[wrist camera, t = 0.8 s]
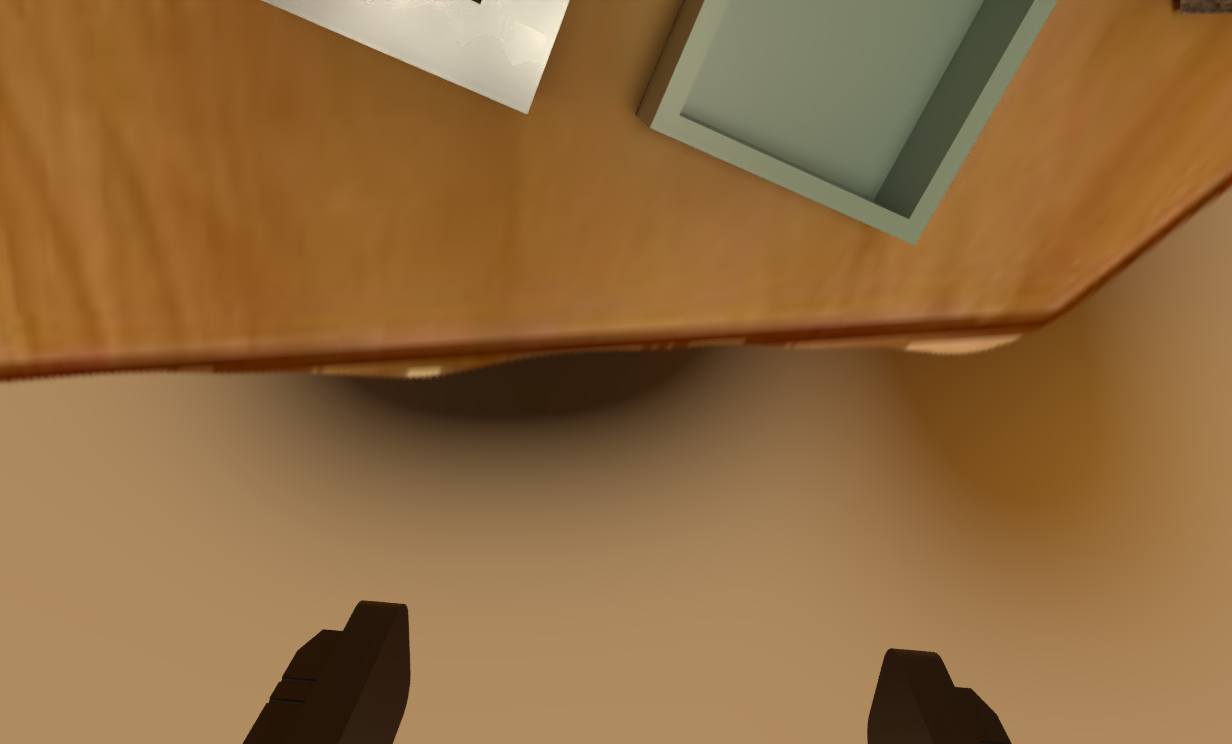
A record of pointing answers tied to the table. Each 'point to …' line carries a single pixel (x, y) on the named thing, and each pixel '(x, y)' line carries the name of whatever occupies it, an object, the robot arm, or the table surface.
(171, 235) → the table surface
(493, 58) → the block
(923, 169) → the tray
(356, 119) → the table surface
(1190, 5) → the geological specimen
